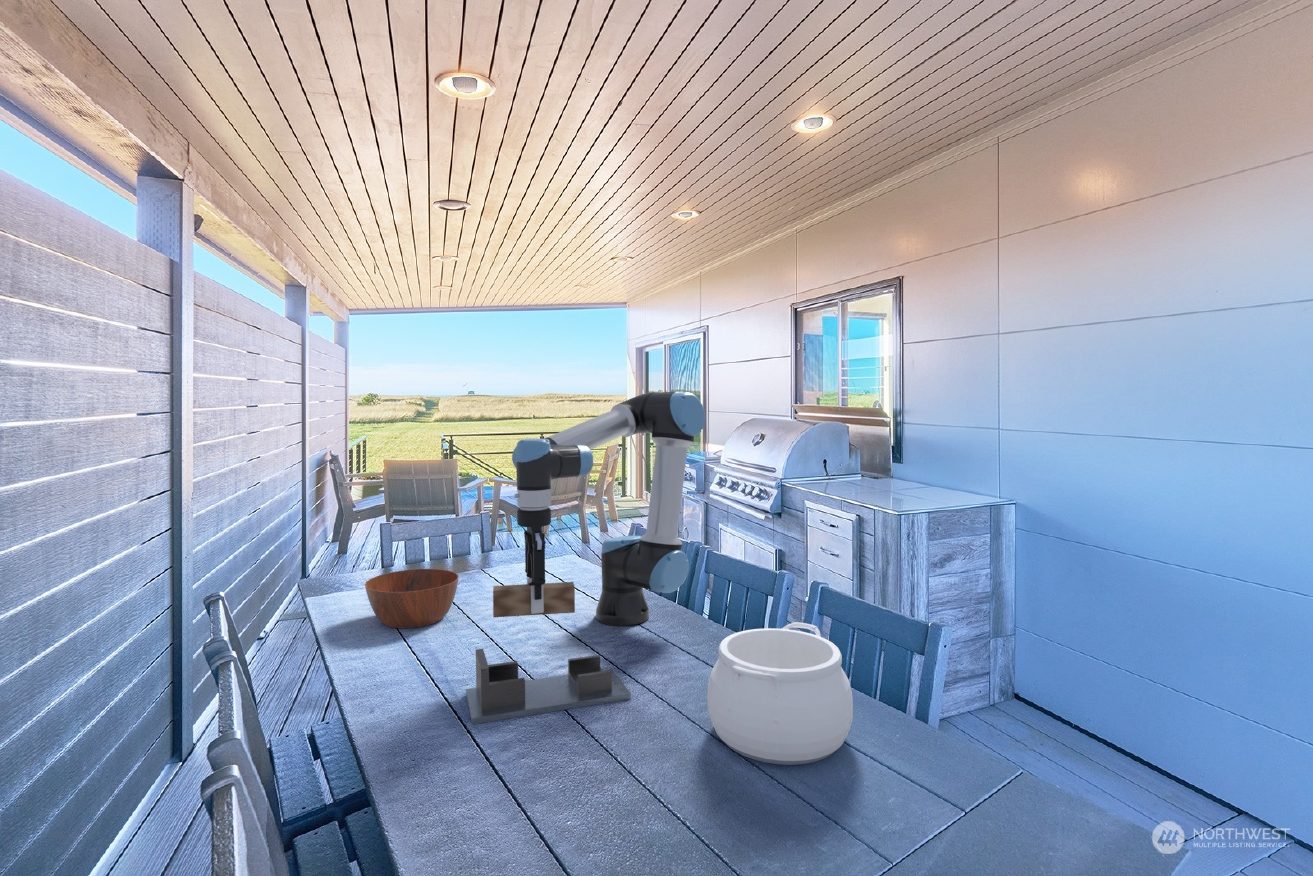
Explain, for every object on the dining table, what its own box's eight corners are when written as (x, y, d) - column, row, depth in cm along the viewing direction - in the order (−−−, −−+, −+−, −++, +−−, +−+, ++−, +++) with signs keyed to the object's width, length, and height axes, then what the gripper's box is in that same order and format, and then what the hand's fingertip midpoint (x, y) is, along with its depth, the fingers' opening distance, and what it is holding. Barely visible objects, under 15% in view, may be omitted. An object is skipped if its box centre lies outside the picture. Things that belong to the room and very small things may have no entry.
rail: (573, 607, 158) (573, 581, 158) (574, 612, 154) (574, 586, 154) (493, 612, 154) (493, 586, 154) (493, 617, 151) (493, 590, 150)
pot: (823, 796, 107) (824, 689, 106) (677, 750, 121) (677, 655, 120) (871, 722, 131) (872, 634, 130) (745, 691, 145) (746, 611, 144)
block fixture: (611, 673, 154) (611, 630, 154) (630, 699, 141) (630, 651, 141) (466, 694, 143) (465, 648, 143) (471, 724, 130) (471, 673, 130)
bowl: (345, 627, 186) (344, 586, 185) (410, 602, 209) (409, 565, 208) (417, 640, 176) (416, 596, 176) (477, 611, 199) (476, 573, 199)
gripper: (511, 502, 160) (513, 600, 161) (523, 514, 144) (524, 623, 145) (543, 501, 163) (544, 597, 164) (558, 512, 146) (559, 619, 148)
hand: (535, 609), depth 154 cm, fingers closed on rail, 4 cm apart
